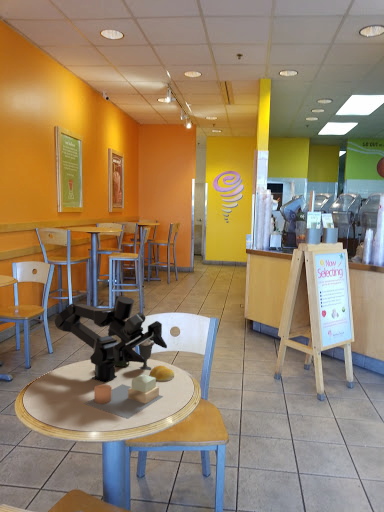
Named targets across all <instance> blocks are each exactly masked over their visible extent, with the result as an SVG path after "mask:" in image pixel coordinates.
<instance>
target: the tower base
mask: <svg viewBox="0 0 384 512" xmlns="http://www.w3.org/2000/svg"><path fill="white" fill-rule="evenodd" d="M130 387H131V388H129V389H128V398H129V399H132V400H135V401H139V402H142V403H145V404H146V403H148V402H149V401H151V400H153V399H154V398H156V397H158V396H159V395H160V387H159V386H157V385H156V387H155V388H153V389H151V390H150V391H148V392H146V393H144V392H141V391H137V390H134V389H132V386H130Z"/></svg>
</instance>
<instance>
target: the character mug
mask: <svg viewBox="0 0 384 512" xmlns="http://www.w3.org/2000/svg"><path fill="white" fill-rule="evenodd" d="M112 338H114V339H116V340H117V342H118V343H120V342H121V338H119V337H118V336H117V335H114V336H112ZM113 362H114V366H117V367H127V365H130V362H129V361H126V362H121V363H118V362H116V361H113Z"/></svg>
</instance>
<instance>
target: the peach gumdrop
mask: <svg viewBox="0 0 384 512" xmlns="http://www.w3.org/2000/svg"><path fill="white" fill-rule="evenodd" d="M112 389H113V387H112V386H111V385H110V384H105V383H103V384H97V385H95V386H94V391H93V392H94V393H93V394H94V396H93V399H94V402H95V403H98V404H105V403H109V402H110V401H111V390H112Z"/></svg>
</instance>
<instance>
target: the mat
mask: <svg viewBox="0 0 384 512" xmlns="http://www.w3.org/2000/svg"><path fill="white" fill-rule="evenodd" d="M131 387H132V386H129V385H126V384H120V385H119V386H117V387H114V388H112V390H111V401H110V402H109V403H105V404H98V403H95V402H94V398H93V399H90V400H88V401H86V402H85V403H83V404H84V405H87V406H89V407H92V408H94V409H97V410H100V411H104V412H107V413H110V414H113V415H116V416H119V417H121V418H124V419H126V420H129V419H130V418H132V417H134V416H135V415H137V414H138V413H139V412H141V411H143V410H144V409H146V408H148V407H149V406H151V405H152V404H155V402H156V403H157V401H159V400H160V399H162V398H163V397H164V396H163V395H161V394H159V396H158V397H156V398H154V399H153V400H151V401H149V402H148V403H146V404H145V403H142V402H139V401H135V400H132V399H129V398H128V389H129V388H131Z"/></svg>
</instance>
